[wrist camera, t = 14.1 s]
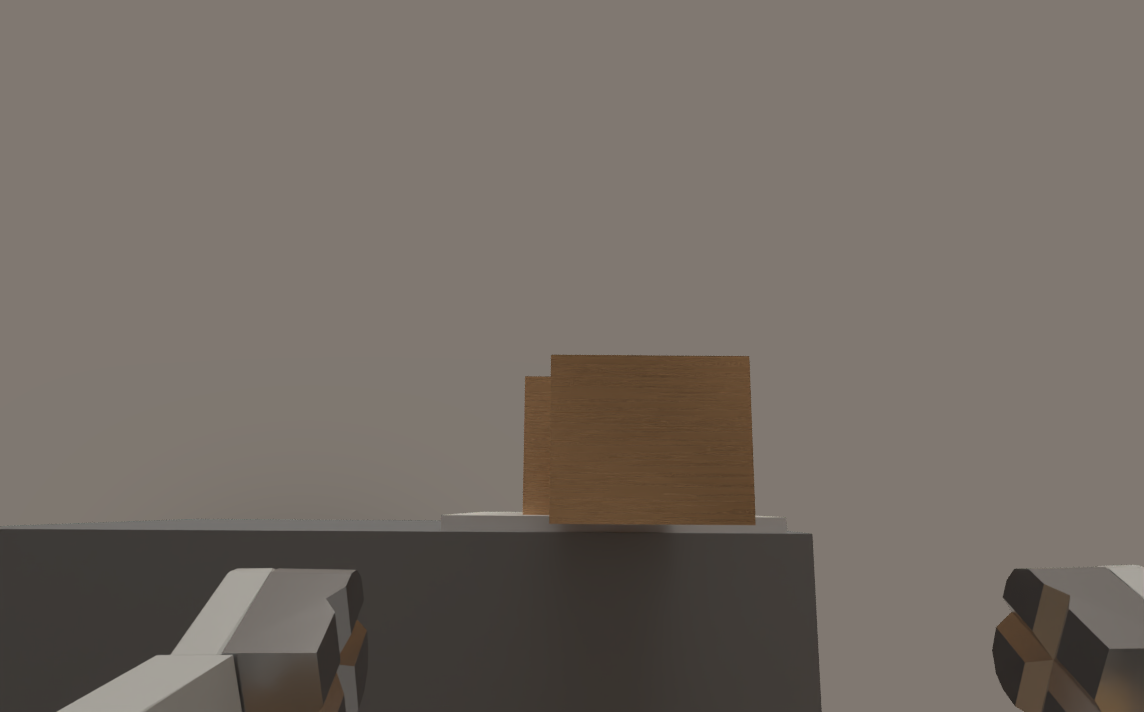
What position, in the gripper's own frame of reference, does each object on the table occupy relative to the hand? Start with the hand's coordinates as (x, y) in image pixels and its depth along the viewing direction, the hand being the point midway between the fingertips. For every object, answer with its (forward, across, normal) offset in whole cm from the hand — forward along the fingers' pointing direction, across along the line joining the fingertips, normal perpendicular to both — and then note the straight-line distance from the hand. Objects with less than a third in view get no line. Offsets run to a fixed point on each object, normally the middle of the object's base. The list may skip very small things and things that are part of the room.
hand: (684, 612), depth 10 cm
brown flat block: (+9, 0, +4) cm, 10 cm away
